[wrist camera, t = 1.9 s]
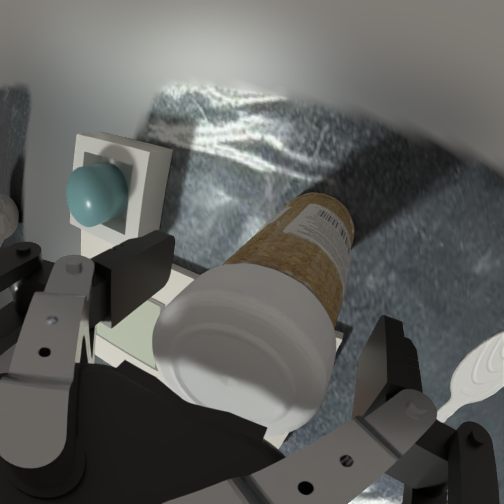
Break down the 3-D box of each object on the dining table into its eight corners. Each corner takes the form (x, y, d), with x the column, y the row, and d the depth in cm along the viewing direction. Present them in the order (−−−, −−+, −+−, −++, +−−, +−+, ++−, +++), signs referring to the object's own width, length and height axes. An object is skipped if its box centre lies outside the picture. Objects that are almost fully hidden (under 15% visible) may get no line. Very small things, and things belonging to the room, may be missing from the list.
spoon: (354, 454, 25) (353, 459, 24) (498, 312, 17) (500, 316, 16) (396, 470, 24) (396, 474, 23) (537, 342, 16) (540, 346, 15)
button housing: (173, 149, 20) (149, 152, 18) (157, 243, 23) (135, 255, 21) (101, 132, 22) (76, 134, 20) (92, 215, 25) (70, 223, 22)
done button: (131, 169, 19) (108, 174, 17) (124, 226, 21) (103, 235, 19) (91, 157, 20) (68, 161, 18) (86, 209, 22) (65, 216, 20)
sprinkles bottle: (269, 205, 20) (116, 311, 8) (341, 181, 18) (285, 271, 6) (295, 273, 20) (194, 440, 8) (365, 255, 19) (345, 440, 7)
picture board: (343, 333, 21) (342, 340, 20) (280, 443, 26) (277, 450, 26) (88, 224, 25) (80, 227, 25) (90, 344, 31) (85, 348, 30)
